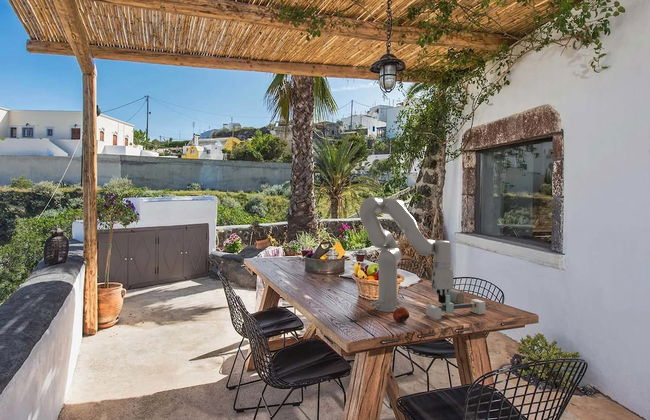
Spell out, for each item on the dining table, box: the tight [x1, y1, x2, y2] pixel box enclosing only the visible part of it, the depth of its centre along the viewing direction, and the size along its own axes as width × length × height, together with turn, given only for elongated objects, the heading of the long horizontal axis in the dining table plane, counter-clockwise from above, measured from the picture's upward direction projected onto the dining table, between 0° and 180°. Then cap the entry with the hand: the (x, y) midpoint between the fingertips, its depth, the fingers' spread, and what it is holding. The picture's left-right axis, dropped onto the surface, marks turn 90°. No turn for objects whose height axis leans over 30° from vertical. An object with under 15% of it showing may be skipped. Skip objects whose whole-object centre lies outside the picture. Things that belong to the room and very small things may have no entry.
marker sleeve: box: [440, 295, 455, 314], centre depth 193 cm, size 4×4×8 cm
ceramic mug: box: [446, 288, 465, 304], centre depth 219 cm, size 11×8×8 cm
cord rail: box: [425, 298, 486, 320], centre depth 195 cm, size 30×8×6 cm, turn 110°
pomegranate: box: [392, 306, 410, 325], centre depth 181 cm, size 7×7×10 cm
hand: (441, 302), depth 192 cm, fingers closed
